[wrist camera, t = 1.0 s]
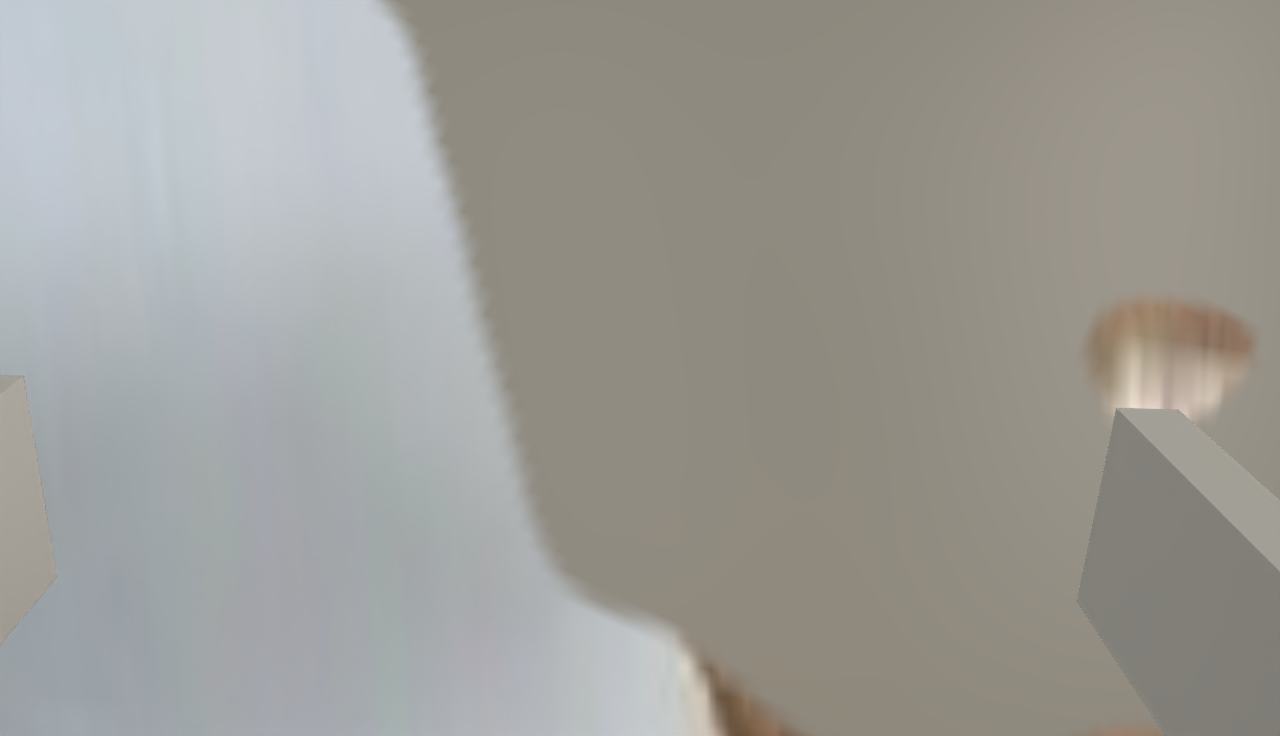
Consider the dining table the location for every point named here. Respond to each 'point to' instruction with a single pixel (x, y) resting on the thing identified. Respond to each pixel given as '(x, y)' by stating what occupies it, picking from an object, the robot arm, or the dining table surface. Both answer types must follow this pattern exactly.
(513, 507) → the dining table surface
